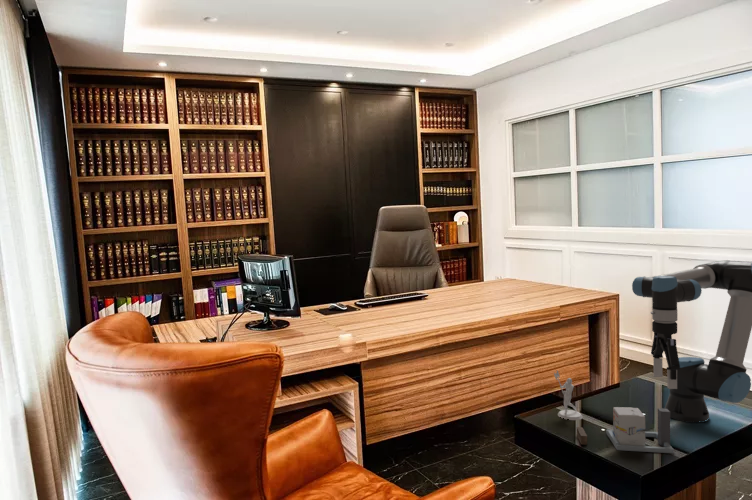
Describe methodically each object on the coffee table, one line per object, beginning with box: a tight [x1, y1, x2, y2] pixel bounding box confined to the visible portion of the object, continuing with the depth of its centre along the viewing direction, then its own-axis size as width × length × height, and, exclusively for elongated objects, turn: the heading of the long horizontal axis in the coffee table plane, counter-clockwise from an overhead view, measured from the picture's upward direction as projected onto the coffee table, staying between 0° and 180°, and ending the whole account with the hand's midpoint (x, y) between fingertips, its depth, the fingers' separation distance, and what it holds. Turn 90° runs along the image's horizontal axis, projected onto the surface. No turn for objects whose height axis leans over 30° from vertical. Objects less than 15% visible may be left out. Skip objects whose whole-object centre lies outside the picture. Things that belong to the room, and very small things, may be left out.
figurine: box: [553, 370, 584, 421], centre depth 206 cm, size 10×10×18 cm
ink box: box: [612, 406, 646, 446], centre depth 179 cm, size 9×8×12 cm
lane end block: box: [576, 426, 588, 446], centre depth 183 cm, size 2×8×3 cm, turn 169°
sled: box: [605, 407, 675, 454], centre depth 179 cm, size 18×14×12 cm
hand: (664, 382), depth 177 cm, fingers open, 13 cm apart
